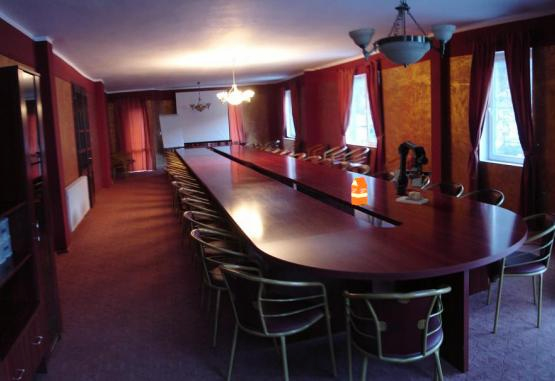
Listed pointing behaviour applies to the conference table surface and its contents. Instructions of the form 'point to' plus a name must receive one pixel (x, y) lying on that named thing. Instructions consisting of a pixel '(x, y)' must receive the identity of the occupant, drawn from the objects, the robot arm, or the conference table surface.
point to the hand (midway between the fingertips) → (418, 184)
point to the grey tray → (412, 200)
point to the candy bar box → (397, 173)
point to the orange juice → (359, 191)
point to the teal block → (417, 182)
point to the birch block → (414, 195)
